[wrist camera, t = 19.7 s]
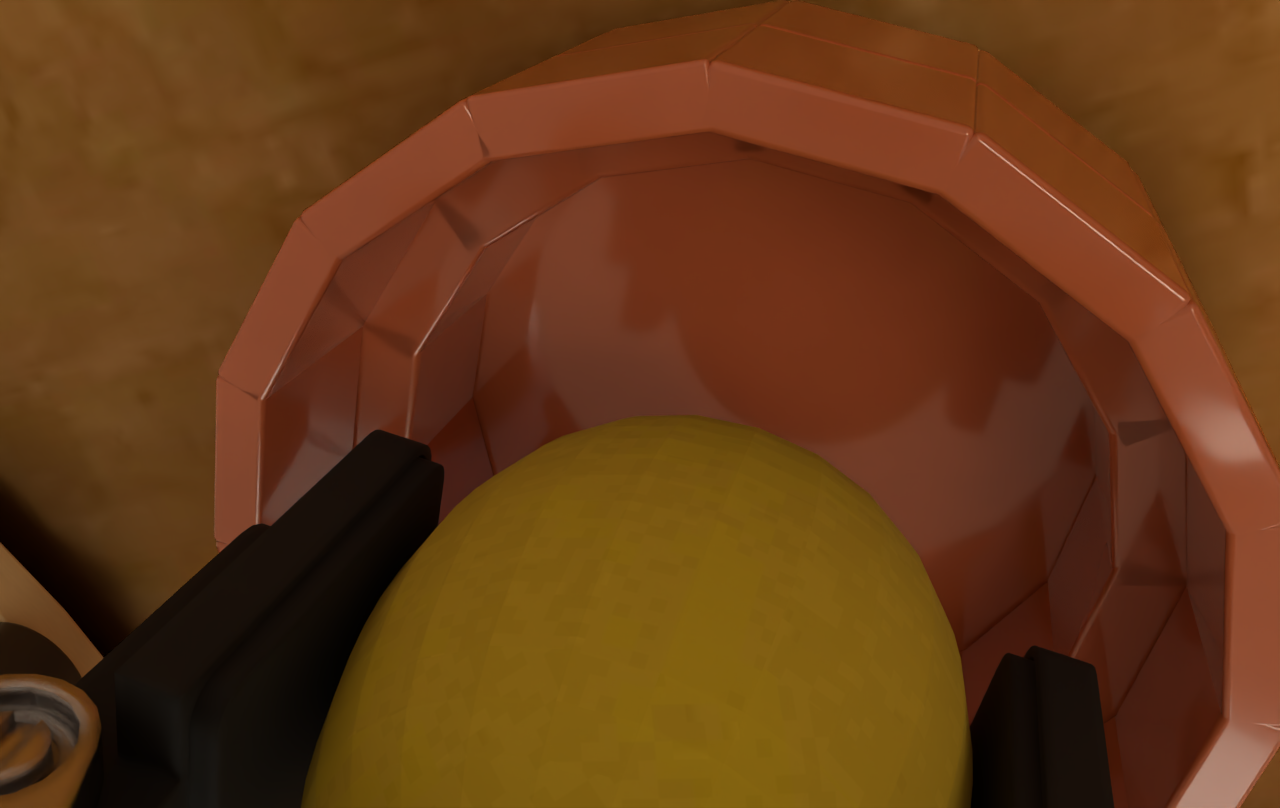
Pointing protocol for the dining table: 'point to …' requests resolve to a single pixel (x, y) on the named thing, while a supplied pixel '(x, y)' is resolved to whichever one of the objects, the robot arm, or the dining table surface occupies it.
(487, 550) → the lemon
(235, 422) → the bowl
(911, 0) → the dining table surface
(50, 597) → the dish rack
